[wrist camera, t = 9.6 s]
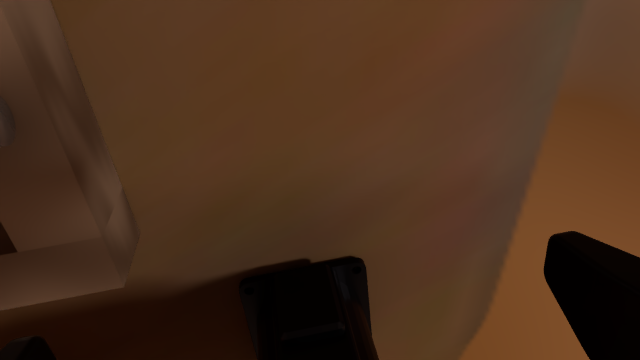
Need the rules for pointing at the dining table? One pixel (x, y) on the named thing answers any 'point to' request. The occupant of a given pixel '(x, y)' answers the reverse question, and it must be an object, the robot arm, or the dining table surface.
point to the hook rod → (6, 124)
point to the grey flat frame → (55, 172)
